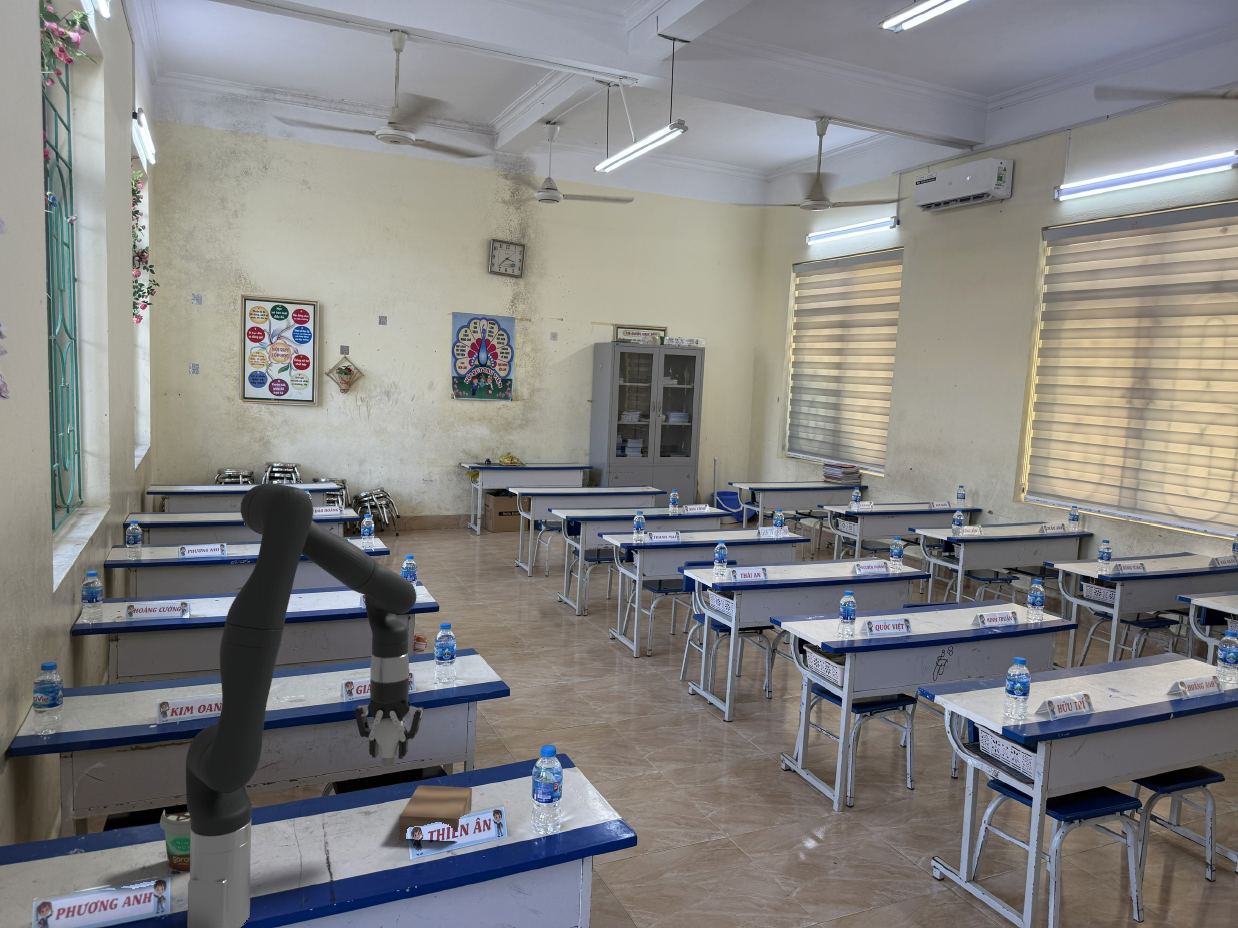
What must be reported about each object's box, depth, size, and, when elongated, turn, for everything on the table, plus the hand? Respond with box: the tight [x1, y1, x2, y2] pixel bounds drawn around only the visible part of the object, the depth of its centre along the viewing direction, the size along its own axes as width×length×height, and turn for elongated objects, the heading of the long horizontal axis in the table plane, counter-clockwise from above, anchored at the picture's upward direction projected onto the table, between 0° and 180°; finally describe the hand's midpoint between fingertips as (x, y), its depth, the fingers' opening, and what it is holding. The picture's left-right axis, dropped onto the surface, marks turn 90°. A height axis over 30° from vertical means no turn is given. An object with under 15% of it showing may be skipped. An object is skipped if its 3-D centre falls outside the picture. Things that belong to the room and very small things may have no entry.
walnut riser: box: [398, 784, 473, 841], centre depth 169 cm, size 14×12×5 cm
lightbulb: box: [373, 718, 405, 769], centre depth 161 cm, size 6×6×11 cm
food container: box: [159, 809, 191, 873], centre depth 150 cm, size 12×6×10 cm, turn 105°
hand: (388, 756), depth 161 cm, fingers closed on lightbulb, 5 cm apart
